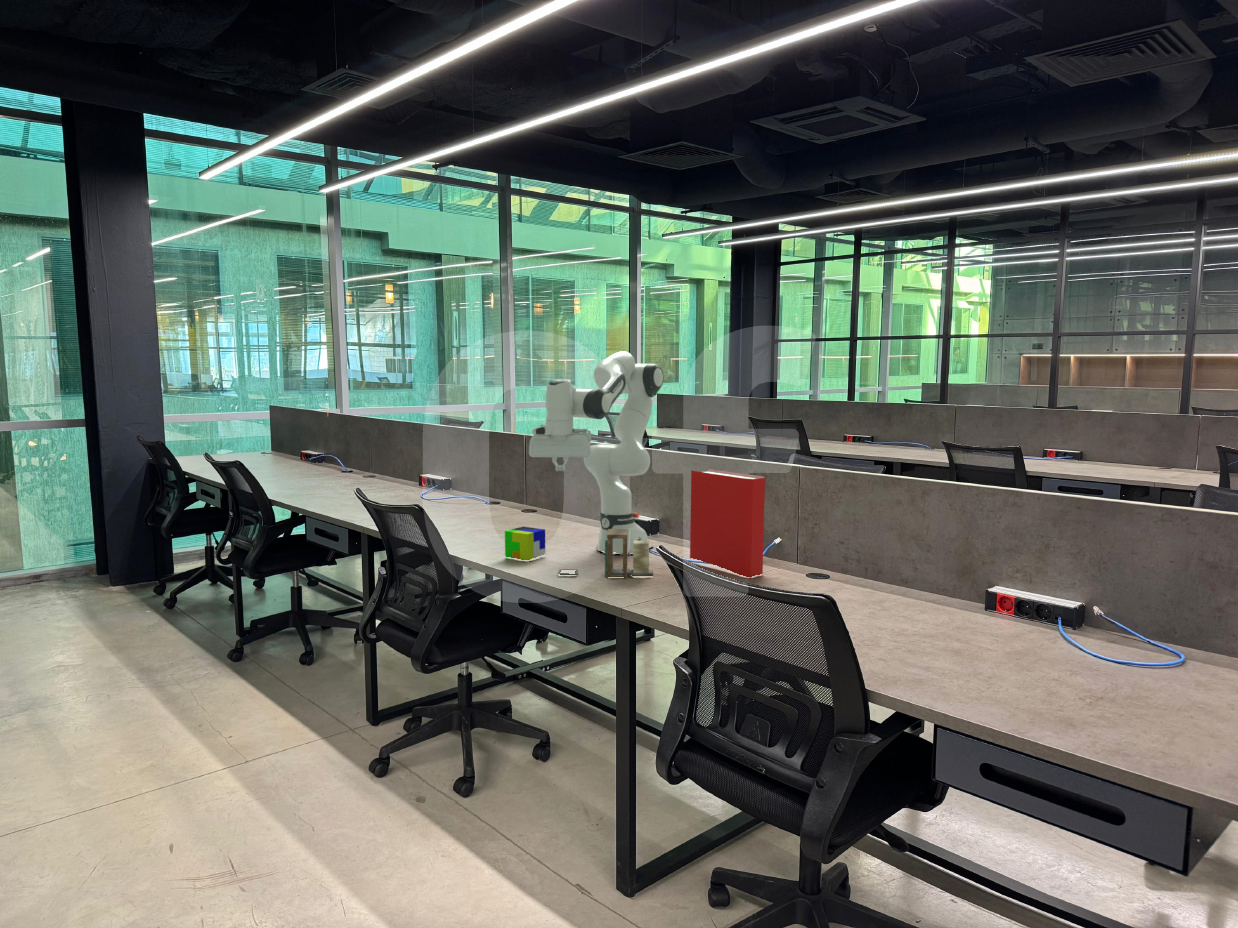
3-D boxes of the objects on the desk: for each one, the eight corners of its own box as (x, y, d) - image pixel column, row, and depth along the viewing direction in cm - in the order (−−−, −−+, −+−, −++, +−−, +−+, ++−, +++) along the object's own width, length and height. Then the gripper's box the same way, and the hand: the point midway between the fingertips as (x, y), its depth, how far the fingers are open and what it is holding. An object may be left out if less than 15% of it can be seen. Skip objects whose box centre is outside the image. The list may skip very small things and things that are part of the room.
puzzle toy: (545, 557, 280) (545, 529, 279) (527, 562, 272) (527, 534, 271) (523, 553, 286) (523, 526, 285) (505, 559, 277) (504, 530, 276)
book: (689, 562, 273) (691, 470, 269) (706, 559, 278) (708, 468, 274) (748, 579, 251) (750, 479, 248) (765, 575, 256) (767, 477, 252)
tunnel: (606, 578, 251) (607, 534, 249) (608, 571, 260) (608, 528, 258) (627, 578, 251) (627, 534, 249) (627, 571, 260) (628, 529, 258)
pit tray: (557, 576, 253) (557, 573, 253) (559, 572, 259) (559, 569, 259) (576, 577, 253) (576, 573, 253) (577, 572, 259) (577, 569, 259)
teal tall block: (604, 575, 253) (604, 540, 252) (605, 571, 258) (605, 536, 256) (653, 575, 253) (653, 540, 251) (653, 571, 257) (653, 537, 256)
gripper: (592, 428, 261) (592, 469, 263) (530, 428, 262) (531, 469, 264) (590, 429, 255) (591, 472, 257) (527, 429, 256) (528, 472, 258)
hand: (560, 470), depth 260 cm, fingers closed
